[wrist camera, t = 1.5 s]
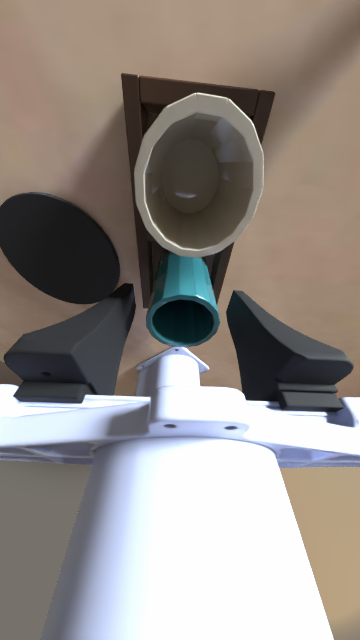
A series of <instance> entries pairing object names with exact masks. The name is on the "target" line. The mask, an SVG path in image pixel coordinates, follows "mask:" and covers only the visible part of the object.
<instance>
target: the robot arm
mask: <svg viewBox="0 0 360 640" xmlns="http://www.w3.org/2000/svg"><path fill="white" fill-rule="evenodd" d="M135 309H136V303H135V296H134V288H133V284H128V283H124V284H122V285H121V286H120V287H119V288H117V289H116V290H115V291H114V292H112V293H111V294H110V295H109V296H107V297H106V298H105V299H103V300H102V301H100V302H99V303H97V304H96V305H94V306H93V307H91V308H89V309H88V310H86V311H84V312H82V313H80V314H78V315H76V316H74V317H72V318H69V319H67V320H65V321H62V322H60V323H57V324H55V325H52V326H49V327H46V328H43V329H40V330H37V331H33V332H30V333H26V334H23V335H22V336H21V337H20V338H19V340H18V341H17V342H16V343H15V344H14V345H13V346H12V347H11V348H10V349H9V351H8V352H7V353H6V354H5V355H4V361H5V364H6V365H7V366H8V367H9V368H10V369H11V370H12V371H14V373H16V374H17V375H18V376H19V377H20V378H21V379H22V380H24V381H23V382H22V384H21V385H20V386H19V387H18V386H15V385H11V384H0V460H11V461H31V462H48V463H63V464H78V465H79V464H80V465H92V466H91V469H90V473H89V476H88V479H87V483H86V486H85V489H84V493H83V496H82V500H81V503H80V506H79V510H78V513H77V516H76V520H75V523H74V527H73V530H72V534H71V537H70V540H69V544H68V547H67V550H66V554H65V557H64V560H63V564H62V567H61V571H60V574H59V577H58V581H57V585H56V588H55V591H54V594H53V598H52V601H51V604H50V608H49V611H48V614H47V618H46V622H45V625H44V628H43V631H42V635H41V638H40V640H334V639H333V636H332V633H331V630H330V627H329V624H328V620H327V617H326V614H325V611H324V608H323V605H322V602H321V598H320V595H319V592H318V589H317V586H316V583H315V580H314V576H313V573H312V570H311V567H310V564H309V561H308V558H307V554H306V552H305V549H304V545H303V542H302V539H301V536H300V532H299V529H298V526H297V523H296V520H295V517H294V514H293V511H292V508H291V504H290V501H289V498H288V495H287V492H286V489H285V486H284V482H283V479H282V476H281V473H280V470H279V468H298V467H299V468H301V467H360V398H352V397H343V398H339V399H338V398H337V396H336V395H335V393H337V392H338V390H337V388H336V387H335V385H334V384H336V383H337V382H339V381H340V380H342V379H343V378H344V377H346V376H347V375H348V374H350V373H351V371H352V370H353V363H352V362H351V361H350V360H349V358H348V357H347V356H346V355H345V353H344V352H343V351H342V350H339V349H337V348H334V347H331V346H329V345H326V344H324V343H321V342H319V341H317V340H314V339H312V338H310V337H308V336H306V335H304V334H302V333H300V332H298V331H296V330H294V329H292V328H290V327H289V326H287V325H285V324H284V323H282V322H281V321H279V320H278V319H276V318H275V317H273V316H272V315H271V314H269V313H268V312H267V311H265V310H264V309H263V308H262V307H260V306H259V305H258V304H257V303H256V302H254V301H253V300H252V299H251V298H250V297H249V296H248V295H246V294H245V293H244V292H243V291H235V290H233V293H232V296H231V299H230V302H229V305H228V308H227V311H226V315H227V322H228V326H229V329H230V333H231V336H232V339H233V342H234V346H235V349H236V353H237V358H238V364H239V370H240V376H241V384H242V393H241V392H240V391H238V390H237V389H233V388H227V387H206V386H200V380H199V374H200V373H203V372H206V371H208V370H209V367H208V366H207V365H206V364H205V363H203V362H202V361H201V360H200V359H198V358H197V357H196V356H195V355H193V354H192V353H191V352H190V351H188V350H187V349H186V348H182V347H172V348H170V349H168V350H166V351H164V352H163V353H161V354H159V355H157V356H155V357H153V358H151V359H149V360H147V361H145V362H143V363H141V364H139V365H137V366H136V369H137V370H138V371H140V372H139V377H138V382H137V387H136V392H135V397H132V396H114V391H115V385H116V380H117V375H118V370H119V365H120V360H121V356H122V351H123V347H124V344H125V341H126V338H127V335H128V333H129V330H130V327H131V324H132V321H133V319H134V314H135Z"/></svg>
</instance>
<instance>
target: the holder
mask: <svg viewBox="0 0 360 640" xmlns="http://www.w3.org/2000/svg"><path fill="white" fill-rule="evenodd" d="M121 78H122V89H123V99H124V110H125V120H126V131H127V141H128V152H129V162H130V173H131V183H132V194H133V204H134V215H135V225H136V236H137V246H138V257H139V267H140V278H141V288H142V299H143V308H148V306H149V302H150V298H151V293H152V289H153V263H152V242H157V241H156V240H155V239H154V237H153V236H152V235H151V234H150V233H149V232H148V230H147V229H146V227H145V225H144V223H143V220H142V218H141V215H140V213H139V210H138V207H137V205H136V199H135V182H134V168H135V165H136V161H137V157H138V154H139V150H140V146H141V143H142V139H143V137H144V135H145V133H146V132H147V112H150V113H159V114H160V113H161V112H162V110H163V109H164V108H166V106H168V105H170V104H172V103H174V102H176V101H178V100H181V99H183V98H185V97H187V96H189V95H191V94H193V93H197V92H199V93H204V94H210V95H216V96H222V97H227V98H228V99H230V100H231V101H232V102H233V103H234V104H235V105H236V106H237V107H238V108H239V109H240V110H242V111H243V112H244V113H245V114H246V115H247V116H248V117H249V118H250V119H251V120H252V123H253V124H254V127H255V130H256V133H257V136H258V139H259V142H260V144H262V140H263V136H264V133H265V129H266V126H267V122H268V118H269V115H270V111H271V108H272V104H273V100H274V97H275V92H273V91H265V90H260V91H259V90H257V89H249V88H240V87H232V86H223V85H215V84H207V83H198V82H190V81H182V80H173V79H165V78H157V77H148V76H138V75H133V74H125V73H122V74H121ZM233 245H234V242H233V243H231V244H230V245H228V246H227V247H226V248H224V249H223V250H221V251H220V252H218V253H215V256H214V261H213V265H212V270H211V275H210V281H211V285H212V289H213V293H214V297H215V301H216V305H217V303H218V299H219V295H220V292H221V288H222V285H223V281H224V277H225V274H226V270H227V267H228V263H229V259H230V256H231V252H232V249H233Z"/></svg>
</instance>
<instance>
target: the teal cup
mask: <svg viewBox="0 0 360 640" xmlns="http://www.w3.org/2000/svg"><path fill="white" fill-rule="evenodd" d="M219 324H220V319H219V313H218V309H217V305H216V301H215V297H214V293H213V289H212V285H211V281H210V277H209V272H208V268H207V264H206V260H205V258H204V257H201V258H193V257H184V256H178V255H176V254H175V253H173V252H171V251H169V250H167V249H166V250H165V251H164V252H163V253H162V255H161V257H160V260H159V263H158V267H157V271H156V276H155V280H154V285H153V289H152V293H151V298H150V302H149V306H148V311H147V315H146V326H147V328H148V330H149V332H150V333H151V335H152V336H153V337H154V338H155V339H157V340H158V341H159V342H161V343H163V344H166V345H169V346H172V347H182V348H187V347H192V346H197V345H200V344H202V343H204V342H206V341H208V340H209V339H210V338H211V337H212V336H213V335H214V334H215V333H216V332H217V330H218V327H219Z"/></svg>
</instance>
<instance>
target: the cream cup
mask: <svg viewBox="0 0 360 640" xmlns="http://www.w3.org/2000/svg"><path fill="white" fill-rule="evenodd" d="M263 155H264V153H263V150H262V147H261V144H260V142H259V139H258V136H257V133H256V130H255V127H254V124H253V123H252V120H251V119H250V118H249V117H248V116H247V115H246V114H245V113H244V112H243V111H242V110H240V109H239V108H238V107H237V106H236V105H235V104H234V103H233V102H232V101H231V100H230V99H228V98H227V97H222V96H216V95H210V94H204V93H199V92H197V93H193V94H191V95H189V96H187V97H185V98H183V99H181V100H178V101H176V102H174V103H172V104H170V105H168V106H166V108H164V109H163V110H162V112H161V113H160V114H159V116H158V117H157V118H156V120H155V121H154V122H153V124H152V125H151V126H150V128H149V129H148V131H147V132H146V133H145V135H144V137H143V139H142V143H141V146H140V150H139V154H138V157H137V161H136V165H135V168H134V182H135V199H136V205H137V207H138V210H139V213H140V215H141V218H142V220H143V223H144V225H145V227H146V229H147V230H148V232H149V233H150V234H151V235H152V236H153V237H154V239H155V240H156V241H157V242H158V243H159V244H160V245H161V246H162V247H163V248H165V249H167V250H169V251H171V252H173V253H175V254H176V255H178V256H184V257H193V258H201V257H204V256H208V255H212V254H215V253H218V252H220V251H221V250H223V249H224V248H226V247H227V246H228V245H230V244H231V243H233V242H234V241H235V240H237V239H238V238H239V236H240V235H241V233H242V232H243V231H244V229H245V228H246V227H247V225H248V224H249V223H250V221H251V220H252V217H253V216H254V213H255V211H256V208H257V205H258V202H259V199H260V196H261V193H262V191H263V174H264V156H263Z"/></svg>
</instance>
